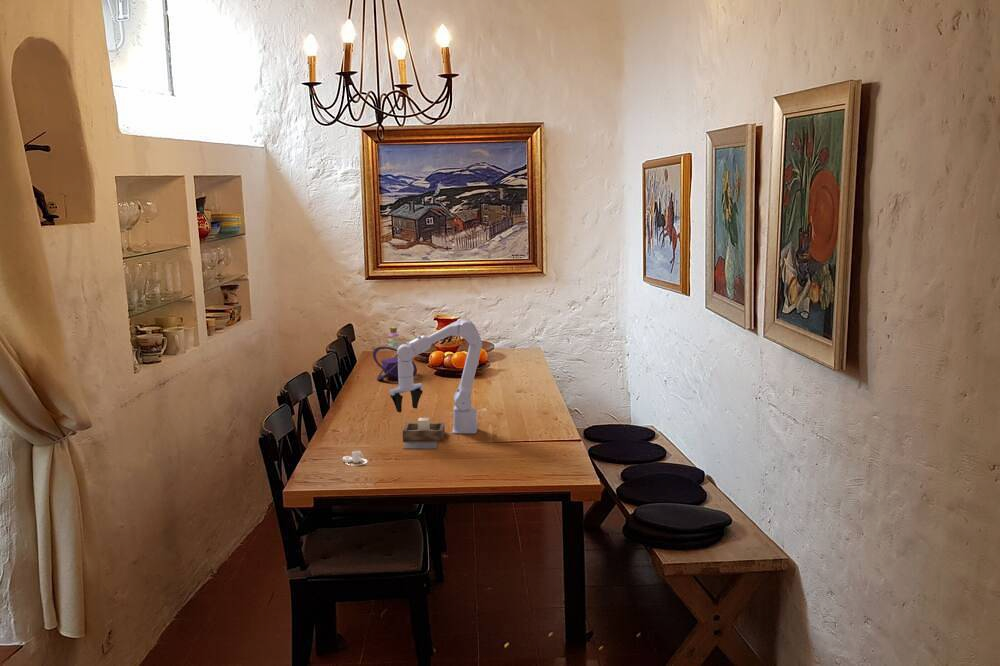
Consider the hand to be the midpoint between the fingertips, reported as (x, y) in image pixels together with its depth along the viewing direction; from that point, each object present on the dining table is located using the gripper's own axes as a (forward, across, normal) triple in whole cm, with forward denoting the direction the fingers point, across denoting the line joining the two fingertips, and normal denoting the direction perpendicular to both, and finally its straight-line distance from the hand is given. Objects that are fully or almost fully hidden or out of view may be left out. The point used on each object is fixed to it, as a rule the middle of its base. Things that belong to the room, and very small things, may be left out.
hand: (407, 409), depth 354 cm
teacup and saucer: (+10, +32, +12) cm, 35 cm away
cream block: (+8, -2, +8) cm, 11 cm away
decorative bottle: (+10, -51, -79) cm, 95 cm away
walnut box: (+10, -2, +8) cm, 12 cm away
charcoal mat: (+10, +6, +15) cm, 19 cm away
